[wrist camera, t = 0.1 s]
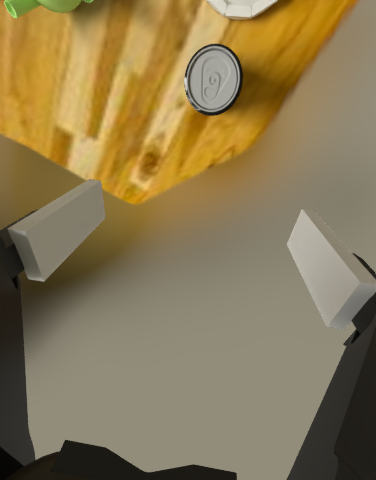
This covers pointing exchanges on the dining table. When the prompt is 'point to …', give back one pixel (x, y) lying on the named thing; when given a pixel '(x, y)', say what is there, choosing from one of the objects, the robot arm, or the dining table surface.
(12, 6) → the green rounded body
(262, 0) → the saucer
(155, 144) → the dining table surface
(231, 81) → the beverage can
